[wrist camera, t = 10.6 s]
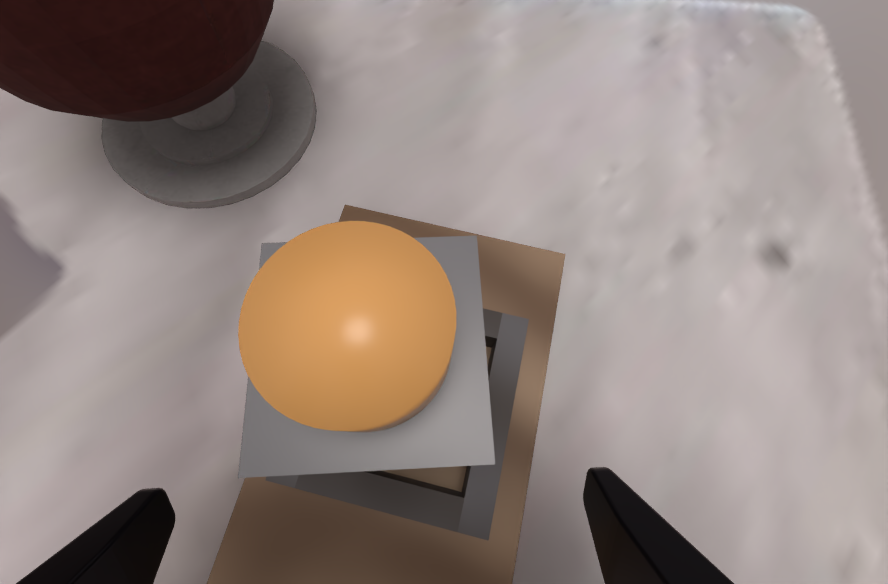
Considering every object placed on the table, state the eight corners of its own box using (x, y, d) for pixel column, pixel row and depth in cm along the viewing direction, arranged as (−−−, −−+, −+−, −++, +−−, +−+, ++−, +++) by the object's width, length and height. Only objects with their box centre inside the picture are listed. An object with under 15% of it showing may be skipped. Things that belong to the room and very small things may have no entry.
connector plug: (459, 447, 19) (515, 474, 6) (358, 452, 19) (168, 492, 5) (454, 348, 20) (487, 181, 7) (360, 352, 20) (213, 190, 7)
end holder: (494, 656, 17) (505, 700, 14) (218, 577, 18) (177, 604, 15) (560, 261, 23) (577, 236, 20) (348, 213, 24) (336, 183, 21)
